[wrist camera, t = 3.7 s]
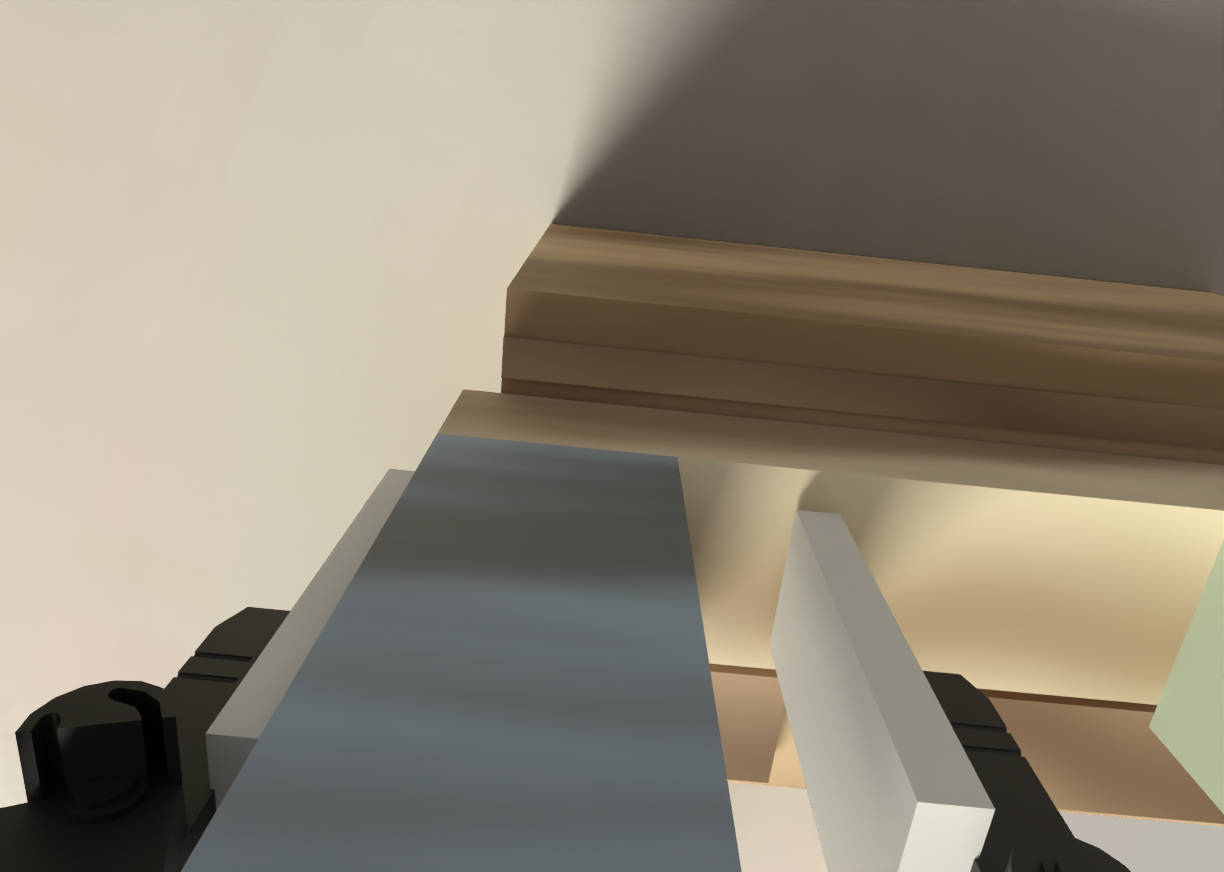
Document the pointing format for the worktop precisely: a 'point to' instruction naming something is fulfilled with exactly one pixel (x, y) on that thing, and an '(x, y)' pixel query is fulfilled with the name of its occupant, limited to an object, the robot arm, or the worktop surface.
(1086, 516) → the beige piece
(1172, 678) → the block
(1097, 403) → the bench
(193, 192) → the worktop surface
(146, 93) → the worktop surface
